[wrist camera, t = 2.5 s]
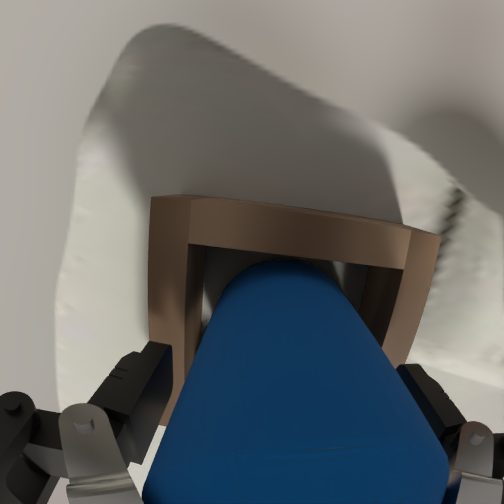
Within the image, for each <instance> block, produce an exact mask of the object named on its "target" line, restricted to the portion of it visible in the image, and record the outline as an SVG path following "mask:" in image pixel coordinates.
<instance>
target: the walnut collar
mask: <svg viewBox="0 0 504 504" xmlns="http://www.w3.org/2000/svg"><path fill="white" fill-rule="evenodd" d="M440 240H441V236H439V235H436V234H433V233H430V232H427V231H424V230H420V229H417V228H414V227H411V226H407V225H404V224H399V223H393V222H388V221H382V220H376V219H370V218H365V217H359V216H352V215H346V214H340V213H333V212H327V211H320V210H313V209H306V208H298V207H291V206H283V205H275V204H267V203H259V202H250V201H241V200H232V199H222V198H212V197H201V196H190V195H169V196H158V197H151V210H150V226H149V251H148V315H149V339H150V341H154V342H159V343H164V344H169V345H171V346H172V350H173V389H172V394H171V397H170V399H169V401H168V404H167V406H166V408H165V411H164V413H163V415H162V418H161V420H160V422H159V425H162V426H166V427H167V425H168V422H169V420H170V417H171V415H172V412H173V410H174V407H175V405H176V402H177V400H178V397H179V395H180V392H181V390H182V387H183V385H184V382H185V380H186V377H187V375H188V372H189V370H190V368H191V365H192V363H193V360H194V358H195V355H196V353H197V350H198V348H199V346H200V339H201V318H202V299H203V283H204V268H205V255H206V246H214V247H223V248H231V249H239V250H248V251H256V252H264V253H272V254H281V255H289V256H297V257H306V258H314V259H322V260H330V261H339V262H347V263H355V264H363V265H370V267H369V272H368V276H367V281H366V285H365V290H364V294H363V298H362V302H361V306H360V310H359V314H358V315H359V316H360V317H361V319H362V320H363V322H364V323H365V325H366V326H367V328H368V329H369V331H370V332H371V333H372V335H373V336H374V338H375V339H376V341H377V342H378V344H379V345H380V347H381V348H382V350H383V351H384V353H385V354H386V356H387V357H388V359H389V361H390V362H391V364H392V365H393V367H394V368H395V370H396V368H397V367H398V366H399V365H400V364H405V362H406V359H407V357H408V354H409V351H410V349H411V346H412V343H413V340H414V338H415V335H416V332H417V329H418V326H419V323H420V320H421V317H422V313H423V310H424V307H425V303H426V300H427V296H428V293H429V289H430V285H431V281H432V277H433V273H434V269H435V265H436V260H437V255H438V251H439V245H440Z"/></svg>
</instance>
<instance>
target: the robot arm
mask: <svg viewBox="0 0 504 504" xmlns="http://www.w3.org/2000/svg"><path fill="white" fill-rule="evenodd" d="M396 371H397V373H398V374H399V376H400V378H401V379H402V381H403V382H404V384H405V385H406V387H407V389H408V390H409V392H410V393H411V395H412V397H413V398H414V400H415V402H416V403H417V405H418V406H419V408H420V410H421V411H422V413H423V415H424V416H425V418H426V420H427V421H428V423H429V425H430V427H431V428H432V430H433V432H434V433H435V435H436V437H437V439H438V440H439V442H440V444H441V446H442V447H443V449H444V451H445V453H446V455H447V456H448V462H449V468H450V472H449V480H448V484H447V488H446V491H445V494H444V497H443V500H442V503H441V504H504V480H503V477H504V433H495V434H493V433H492V431H491V430H490V429H489V428H488V427H487V426H486V425H484V424H482V423H480V422H476V421H470V422H467V421H466V419H465V418H464V417H463V415H462V414H461V412H460V411H459V410H458V408H457V407H456V406H455V404H454V403H453V402H452V400H451V399H450V400H449V396H448V395H447V394H446V393H444V390H443V388H442V387H441V386H440V385H439V383H438V382H437V381H435V380H434V379H432V378H431V377H430V376H428V375H427V373H426V372H425V371H424V369H423V368H422V367H421V366H420V365H419V364H400V365H399V366H398V367H397V368H396ZM172 389H173V350H172V346H171V345H169V344H164V343H159V342H154V341H149V342H148V343H147V345H146V346H145V347H144V349H143V350H142V352H141V353H139V352H134V351H133V352H131V353H129V354H128V355H126V356H124V357H122V358H121V359H120V361H119V362H118V363H117V365H116V366H115V369H114V368H113V370H112V371H111V372H110V374H109V376H107V377H106V379H105V380H104V381H103V383H102V384H101V385H100V387H99V388H98V389H97V391H96V392H95V393H94V394H93V396H92V397H91V398H90V400H89V401H88V402H87V403H79V404H74V405H71V406H69V407H67V408H66V409H64V410H63V411H62V413H56V412H50V411H45V410H40V409H36V407H35V405H34V403H33V401H32V399H31V398H30V397H29V396H28V395H27V394H25V393H22V392H17V391H12V392H7V393H5V394H3V395H1V396H0V504H47V502H48V500H49V498H50V496H51V494H52V492H53V490H54V488H55V486H56V484H57V482H58V480H59V479H60V477H63V478H68V479H69V482H70V484H69V485H67V486H66V492H67V497H68V500H69V503H70V504H144V503H143V501H142V499H141V497H140V495H139V493H138V491H137V488H136V486H135V484H134V482H133V480H132V478H131V476H130V475H129V472H128V470H127V468H128V466H129V464H130V462H134V463H137V464H140V465H142V463H143V461H144V458H145V456H146V453H147V451H148V449H149V446H150V444H151V441H152V439H153V437H154V434H155V432H156V430H157V427H158V425H159V422H160V420H161V418H162V415H163V413H164V411H165V408H166V406H167V404H168V401H169V399H170V397H171V394H172Z"/></svg>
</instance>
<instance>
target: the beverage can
mask: <svg viewBox="0 0 504 504" xmlns="http://www.w3.org/2000/svg"><path fill="white" fill-rule="evenodd" d="M449 472H450V468H449V462H448V456H447V455H446V453H445V451H444V449H443V447H442V446H441V444H440V442H439V440H438V439H437V437H436V435H435V433H434V432H433V430H432V428H431V427H430V425H429V423H428V421H427V420H426V418H425V416H424V415H423V413H422V411H421V410H420V408H419V406H418V405H417V403H416V402H415V400H414V398H413V397H412V395H411V393H410V392H409V390H408V389H407V387H406V385H405V384H404V382H403V381H402V379H401V378H400V376H399V374H398V373H397V371H396V370H395V368H394V367H393V365H392V364H391V362H390V361H389V359H388V357H387V356H386V354H385V353H384V351H383V350H382V348H381V347H380V345H379V344H378V342H377V341H376V339H375V338H374V336H373V335H372V333H371V332H370V331H369V329H368V328H367V326H366V325H365V323H364V322H363V320H362V319H361V317H360V316H359V315H358V313H357V312H356V310H355V309H354V307H353V306H352V304H351V303H350V302H349V300H348V299H347V297H346V296H345V295H344V293H343V292H342V290H341V289H340V288H339V286H338V285H337V284H336V282H335V281H334V280H333V279H332V278H331V277H330V276H329V275H328V274H326V273H325V272H324V271H322V270H321V269H319V268H317V267H315V266H313V265H311V264H308V263H305V262H301V261H297V260H288V259H281V260H271V261H266V262H262V263H259V264H256V265H254V266H252V267H249V268H248V269H246V270H244V271H243V272H241V273H240V274H238V275H237V276H236V277H235V278H234V279H233V280H232V281H231V282H230V283H229V284H228V285H227V286H226V288H225V289H224V290H223V292H222V294H221V296H220V298H219V300H218V302H217V304H216V307H215V309H214V312H213V314H212V316H211V319H210V321H209V324H208V326H207V329H206V331H205V333H204V336H203V338H202V341H201V343H200V346H199V348H198V350H197V353H196V355H195V358H194V360H193V363H192V365H191V368H190V370H189V372H188V375H187V377H186V380H185V382H184V385H183V387H182V390H181V392H180V395H179V397H178V400H177V402H176V405H175V407H174V410H173V412H172V415H171V417H170V420H169V422H168V425H167V427H166V430H165V432H164V435H163V437H162V440H161V442H160V445H159V447H158V450H157V453H156V455H155V458H154V460H153V463H152V465H151V468H150V470H149V473H148V476H147V478H146V481H145V483H144V486H143V490H142V501H143V503H144V504H441V503H442V500H443V497H444V494H445V491H446V488H447V484H448V480H449Z"/></svg>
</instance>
